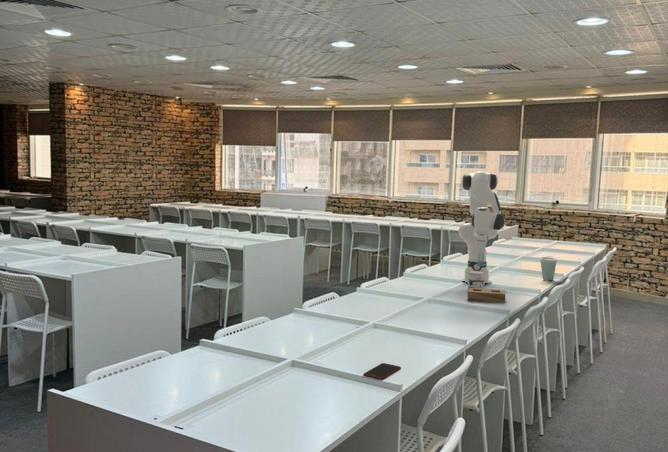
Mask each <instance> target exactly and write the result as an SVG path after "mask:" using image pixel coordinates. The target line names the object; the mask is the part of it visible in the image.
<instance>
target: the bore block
mask: <svg viewBox="0 0 668 452" xmlns="http://www.w3.org/2000/svg"><path fill="white" fill-rule="evenodd" d="M467 302H484V303H497V304H500V303H501V304H505V303H506V290H505V289H499V288H496V289H494V288H484V289H482V288H468V287H467Z"/></svg>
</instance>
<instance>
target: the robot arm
mask: <svg viewBox="0 0 668 452" xmlns="http://www.w3.org/2000/svg"><path fill="white" fill-rule="evenodd" d="M498 182H499V179H498V176H497V174H496V173H493V172H490V173H489V172H485V171H476V172H475V173H474V172H473V173H468V172H467V173H464V175H462V178H461V186H462V188H463V189H464V190H466V191H470V194H469V213H470V215H471V222H465V223H462V224H460V225H459V228H458V235H459V237H460V238H461V239H462V240H463V241H464V242H465V244H466V246H467V250H468V251H467V252H468V254H467V255H468V260H467V262H466V263H467V267H466V268H465V270H464V278H462V279H461V282H462V281H466V282H467V283H466V282H465V283H466V284H468V277H469V272H470V271H478V272H484V285H486V284H485V283H488V284H492V281H491V280H490V276H489V273H490V272H489V269H488V268H487V267H488V266H487V265H488V263H487V250H486V249H487V248H486V246H487V243H488V241H489V240H491V239H492V240H493V239H495V238H496V237H497V235H498V231H500V230H502V229H503V228H504V227H505V222H506V220H505V216H504V214H503V211H502V209H501V205H500V204H501V203H500V201H499V198H498V195H497V193H496V192H494V191H493V190H496V188H497V186H498ZM488 205H490V206H491V207H492V210H493V211H492V212H491V211H490V208H489V207H488ZM478 254H479V261H483V254H484V266H478Z"/></svg>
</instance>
